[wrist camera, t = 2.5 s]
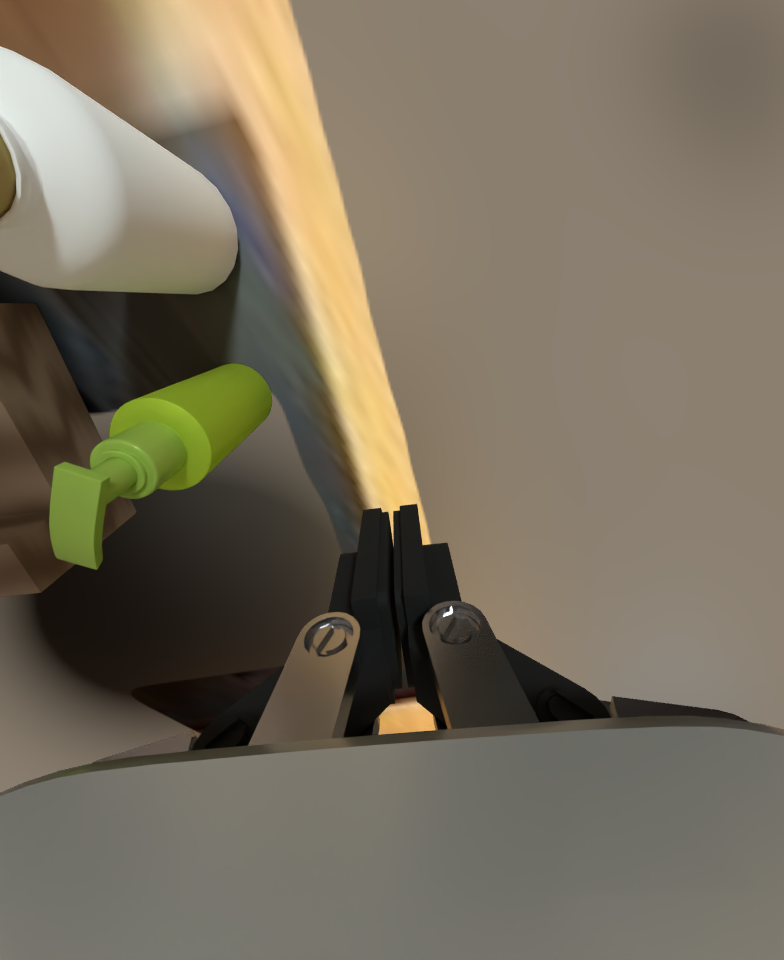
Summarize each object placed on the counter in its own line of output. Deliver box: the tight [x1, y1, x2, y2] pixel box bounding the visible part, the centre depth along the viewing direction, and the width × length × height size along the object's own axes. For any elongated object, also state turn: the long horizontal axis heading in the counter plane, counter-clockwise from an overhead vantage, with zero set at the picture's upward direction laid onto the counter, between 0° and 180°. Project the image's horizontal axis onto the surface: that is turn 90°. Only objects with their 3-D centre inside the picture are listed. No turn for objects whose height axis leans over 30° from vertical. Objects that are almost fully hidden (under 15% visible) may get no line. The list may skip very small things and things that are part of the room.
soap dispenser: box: [49, 363, 272, 570], centre depth 25 cm, size 6×7×20 cm
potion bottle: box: [0, 46, 238, 294], centre depth 21 cm, size 8×8×18 cm
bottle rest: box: [0, 303, 136, 597], centre depth 30 cm, size 20×6×12 cm, turn 7°
